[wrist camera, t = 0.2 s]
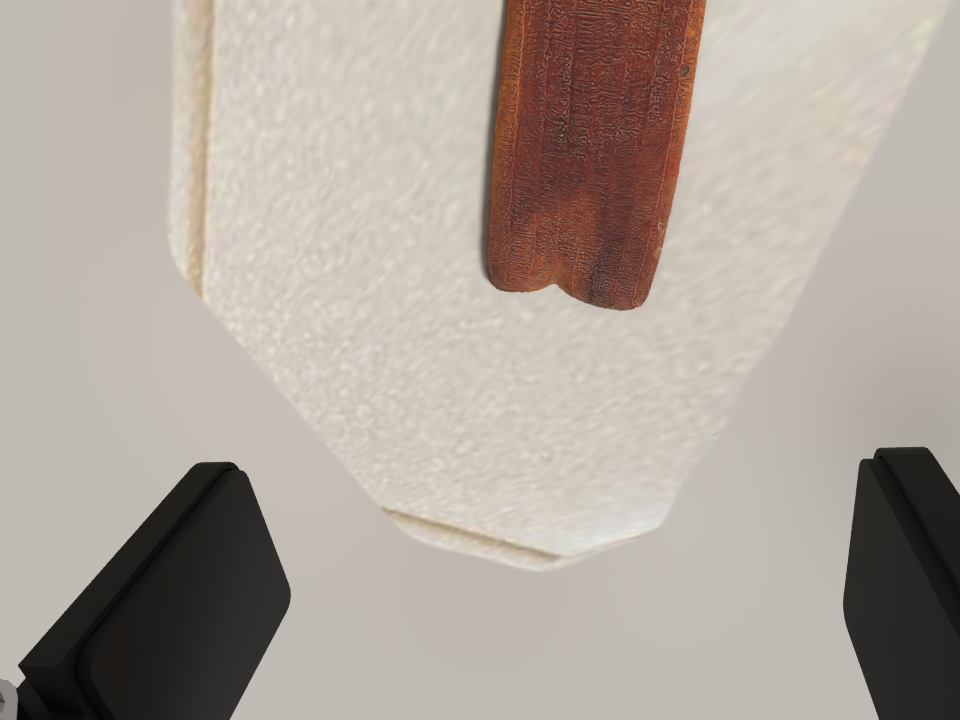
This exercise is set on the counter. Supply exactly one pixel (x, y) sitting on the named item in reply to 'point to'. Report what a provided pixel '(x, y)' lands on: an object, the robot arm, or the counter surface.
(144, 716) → the robot arm
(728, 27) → the counter surface
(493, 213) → the wooden tablet
